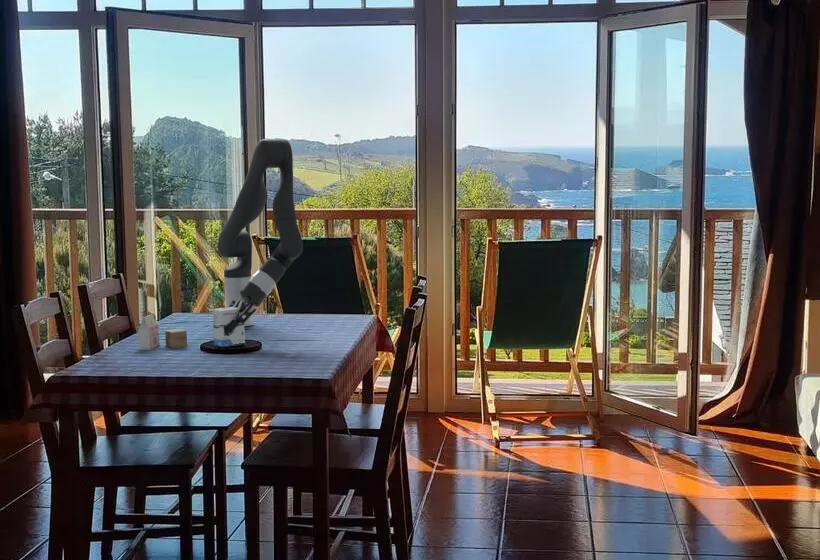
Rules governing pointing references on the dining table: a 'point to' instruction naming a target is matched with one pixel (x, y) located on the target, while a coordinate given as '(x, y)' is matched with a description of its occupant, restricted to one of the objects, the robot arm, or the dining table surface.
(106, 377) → the dining table surface
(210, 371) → the dining table surface
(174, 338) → the walnut cube
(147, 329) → the white carton
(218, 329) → the ink box
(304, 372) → the dining table surface
